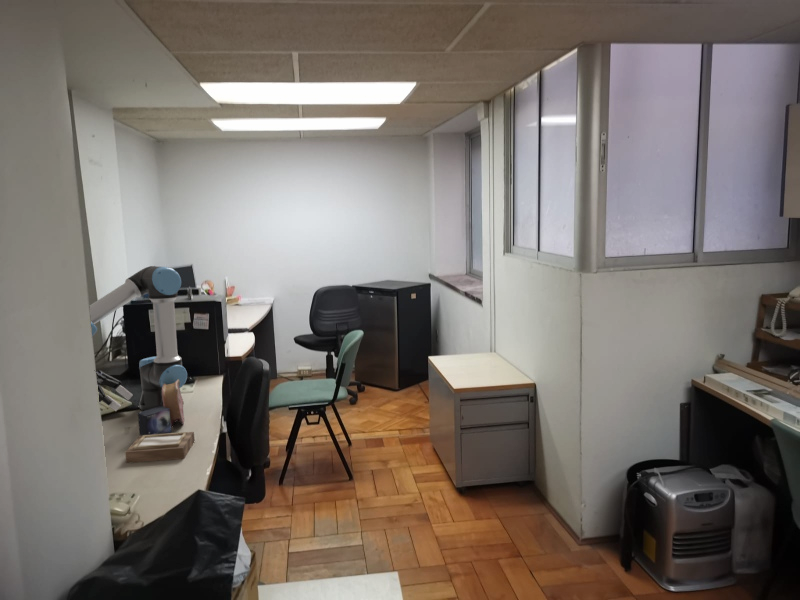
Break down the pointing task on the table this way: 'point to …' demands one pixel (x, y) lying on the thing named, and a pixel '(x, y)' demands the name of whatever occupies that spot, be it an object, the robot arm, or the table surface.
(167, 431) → the small box
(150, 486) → the table surface
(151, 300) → the robot arm
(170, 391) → the face sculpture
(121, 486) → the table surface
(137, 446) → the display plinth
